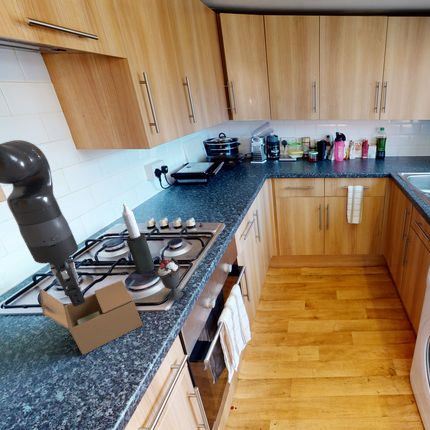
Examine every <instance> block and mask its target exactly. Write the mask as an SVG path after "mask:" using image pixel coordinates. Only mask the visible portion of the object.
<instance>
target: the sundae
mask: <svg viewBox="0 0 430 430" xmlns="http://www.w3.org/2000/svg"><path fill="white" fill-rule="evenodd" d="M159 261H160V265H159V267H158V268H157V269H156V270H155V271H154V274H155V276H156V277H157V278H159V279H160V281H161V283H162V285H163V286H164V288H165V289H168V290H171V293H170V294H169V295H168V296H167V300H168V301H171V302H173V301H177V300H180V299H182V297H183V296H184V293H183V291H181V290H177V287H178V285H180V270H181V265H180V263H178V260H177V259H175V258H174V257H171V258H170V259H166V260H164V259H162V258H160V259H159Z"/></svg>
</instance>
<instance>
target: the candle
mask: <svg viewBox="0 0 430 430" xmlns="http://www.w3.org/2000/svg"><path fill="white" fill-rule="evenodd" d="M122 206H123V212H122V219H123V221H124V224H125V227H126V230H127V234H128V236H126V245H127V248H128V250H129V252H130V255H131V259H132V261H133V264H134V266H135V269H136V272H137V274H139V275H141V274H146V273H149V272H152V271H154V270H155V263H154V260H153V256H152V253H151V249H150V247H149V244H148V241H147V237H146V234H145V233H144V232H140V230H139V226H138V224H137V220H136V217H135V215H134V212H133V211H132V210H131V209H130V208H129V206H127V204H126V203H123V204H122Z"/></svg>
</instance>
